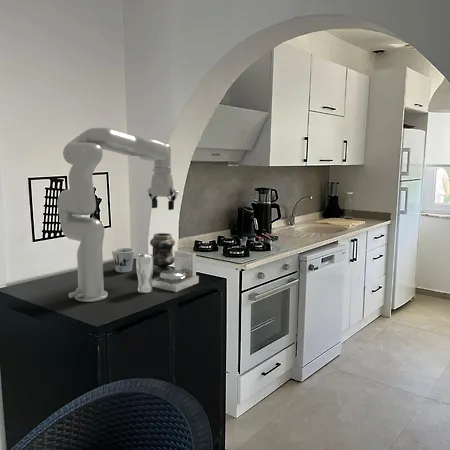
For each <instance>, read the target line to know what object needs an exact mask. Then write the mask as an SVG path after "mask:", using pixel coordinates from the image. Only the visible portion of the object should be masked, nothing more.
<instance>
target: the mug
mask: <svg viewBox="0 0 450 450" xmlns="http://www.w3.org/2000/svg"><path fill="white" fill-rule="evenodd" d="M111 252H112V258H113V263H114V269H115V271H116V272H118V273H129V272H132V269H133V266H134V265H133V264H134V256H135V249H133V248H130V247H121V248H120V247H119V248H115V249H113V250H111Z"/></svg>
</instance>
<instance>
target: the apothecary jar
mask: <svg viewBox="0 0 450 450" xmlns="http://www.w3.org/2000/svg"><path fill="white" fill-rule="evenodd" d="M172 236H173V235H172V234H171V233H169V232H157V233H154V234H153V237H152V238H151V239H150V242H149V245H150V246H152V254H151V255H153V266H157V267H155V268H153V273H154V274H160V273H161V272H163V271H167V270H174V269H173V268H171V267H170V266H171V265H173V264H175V261H174V253H173V247H174V246H175V244H176V241H175V239H174V238H173V237H172Z"/></svg>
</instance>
